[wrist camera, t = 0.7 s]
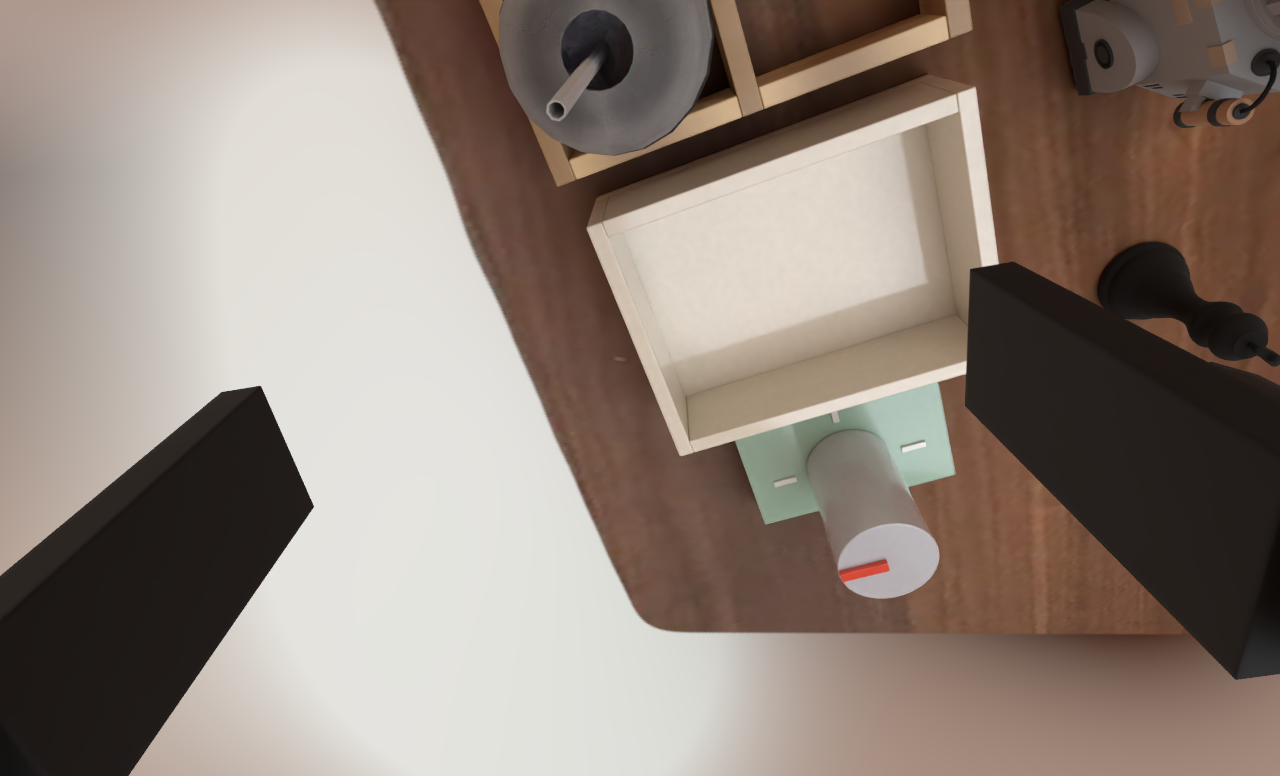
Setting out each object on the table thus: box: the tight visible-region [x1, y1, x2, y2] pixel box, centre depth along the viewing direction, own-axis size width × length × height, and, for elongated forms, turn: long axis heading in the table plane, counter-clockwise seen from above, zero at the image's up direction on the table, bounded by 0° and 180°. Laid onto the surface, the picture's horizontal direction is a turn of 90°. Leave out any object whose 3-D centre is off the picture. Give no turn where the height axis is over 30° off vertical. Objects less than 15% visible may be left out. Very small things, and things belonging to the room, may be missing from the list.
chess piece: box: [1099, 242, 1280, 367], centre depth 35 cm, size 4×4×10 cm
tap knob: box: [807, 430, 939, 599], centre depth 39 cm, size 5×5×9 cm
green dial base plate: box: [735, 382, 956, 524], centre depth 43 cm, size 12×10×3 cm
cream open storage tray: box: [587, 74, 999, 456], centre depth 36 cm, size 18×14×6 cm
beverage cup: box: [499, 0, 714, 156], centre depth 25 cm, size 7×7×20 cm
